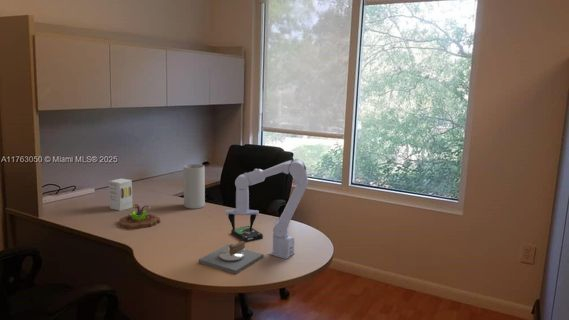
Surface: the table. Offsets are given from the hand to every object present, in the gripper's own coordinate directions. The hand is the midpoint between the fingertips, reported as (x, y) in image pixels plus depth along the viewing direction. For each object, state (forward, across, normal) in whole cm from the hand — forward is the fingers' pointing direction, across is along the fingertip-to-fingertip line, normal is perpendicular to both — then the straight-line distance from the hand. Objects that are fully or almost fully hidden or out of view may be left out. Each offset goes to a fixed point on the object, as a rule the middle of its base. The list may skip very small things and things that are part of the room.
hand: (242, 230), depth 199 cm
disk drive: (+11, 0, -20) cm, 23 cm away
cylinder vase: (+10, +36, -69) cm, 78 cm away
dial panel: (+10, +4, +10) cm, 15 cm away
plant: (+10, +59, -36) cm, 70 cm away
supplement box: (+10, +78, -62) cm, 100 cm away
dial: (+9, +3, +9) cm, 12 cm away
